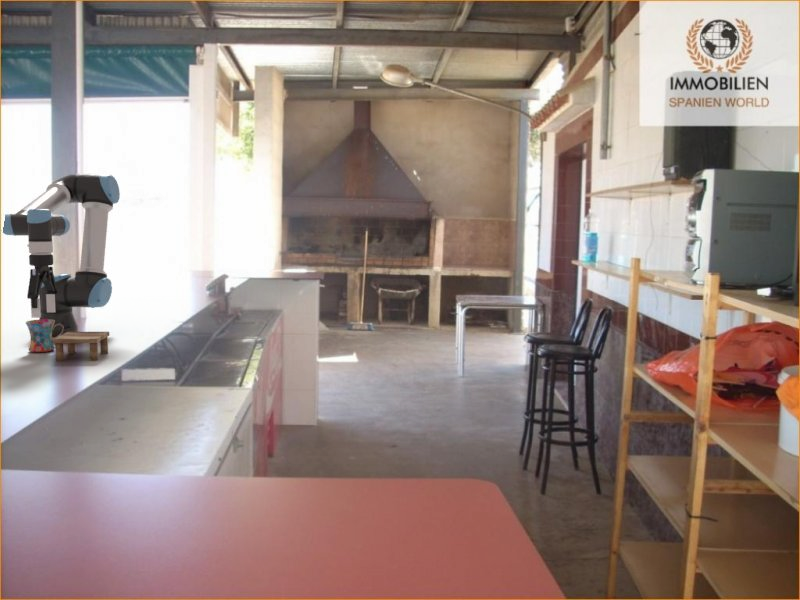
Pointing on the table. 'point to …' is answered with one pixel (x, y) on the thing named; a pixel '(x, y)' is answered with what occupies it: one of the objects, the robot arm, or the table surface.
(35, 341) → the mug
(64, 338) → the stool
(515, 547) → the table surface
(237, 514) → the table surface
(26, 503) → the table surface
